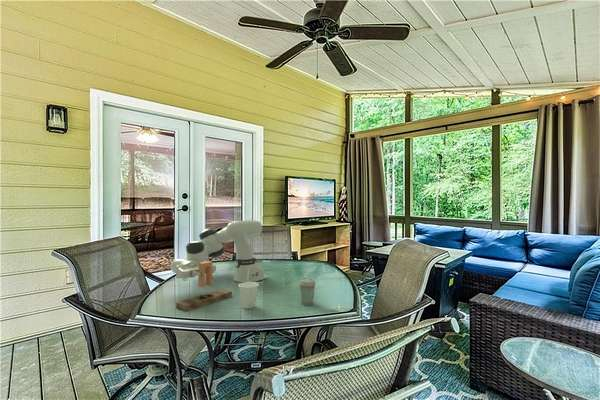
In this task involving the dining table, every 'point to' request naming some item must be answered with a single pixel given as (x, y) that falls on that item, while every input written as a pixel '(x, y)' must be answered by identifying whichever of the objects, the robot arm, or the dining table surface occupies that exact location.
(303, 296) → the coffee cup
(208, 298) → the rail
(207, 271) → the clip
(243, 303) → the cup
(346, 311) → the dining table surface
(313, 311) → the dining table surface
